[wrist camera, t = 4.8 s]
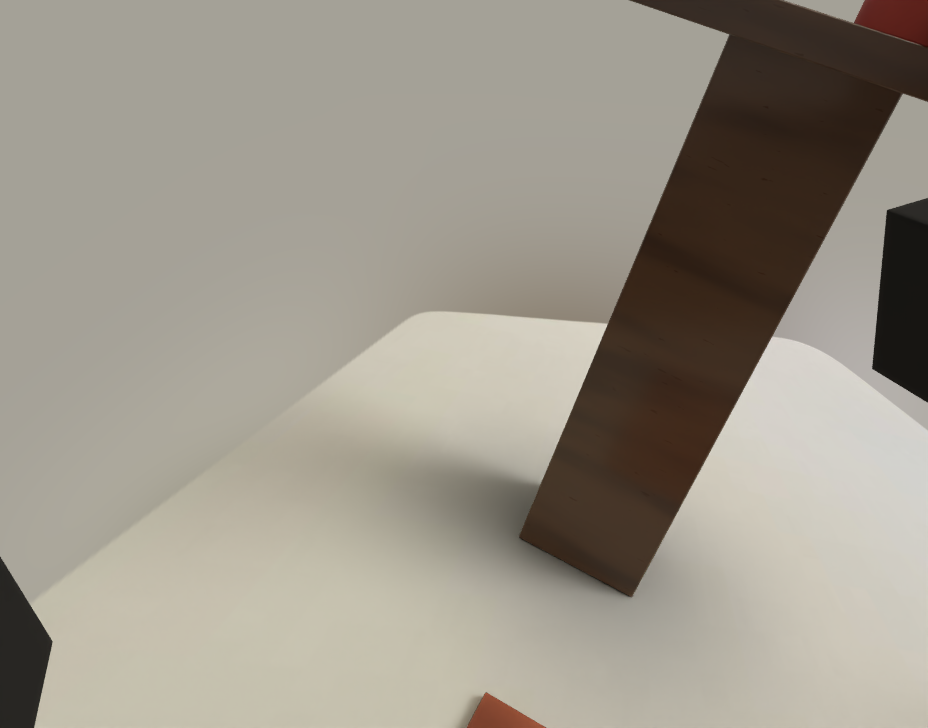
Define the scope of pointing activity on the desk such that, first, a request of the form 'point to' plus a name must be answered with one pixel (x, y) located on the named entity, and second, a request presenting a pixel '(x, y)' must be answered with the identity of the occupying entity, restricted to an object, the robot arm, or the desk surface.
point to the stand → (713, 276)
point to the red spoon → (897, 18)
